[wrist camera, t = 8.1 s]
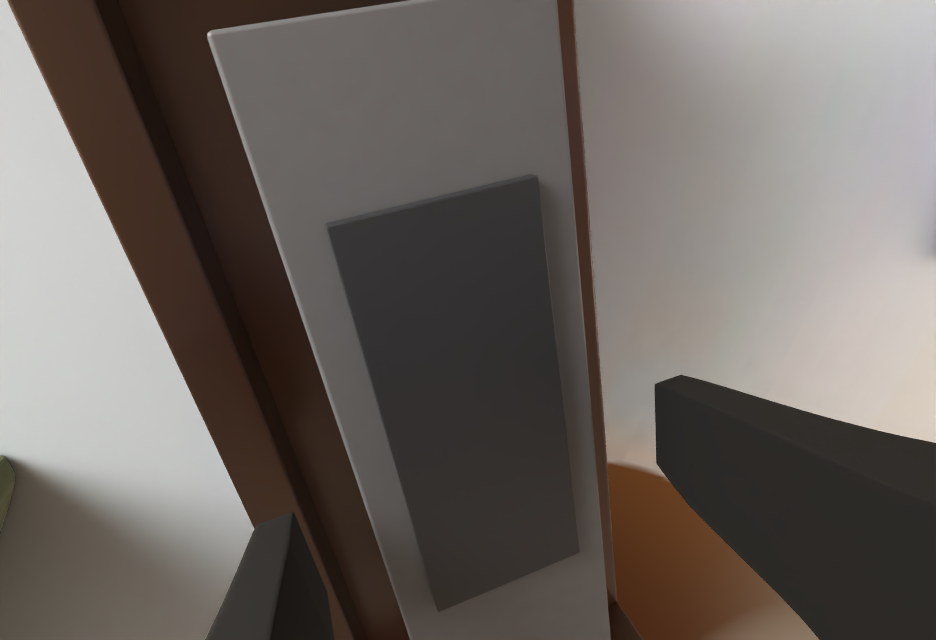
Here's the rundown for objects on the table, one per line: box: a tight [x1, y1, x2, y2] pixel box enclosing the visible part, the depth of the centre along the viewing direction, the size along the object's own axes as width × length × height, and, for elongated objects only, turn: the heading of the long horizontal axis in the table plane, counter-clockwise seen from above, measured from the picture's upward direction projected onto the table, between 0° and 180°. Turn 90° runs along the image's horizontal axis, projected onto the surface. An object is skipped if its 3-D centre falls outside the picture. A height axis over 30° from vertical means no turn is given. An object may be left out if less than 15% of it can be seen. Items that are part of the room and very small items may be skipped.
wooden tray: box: [7, 0, 643, 640], centre depth 13 cm, size 9×22×6 cm, turn 10°
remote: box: [207, 0, 611, 640], centre depth 11 cm, size 5×16×3 cm, turn 10°
